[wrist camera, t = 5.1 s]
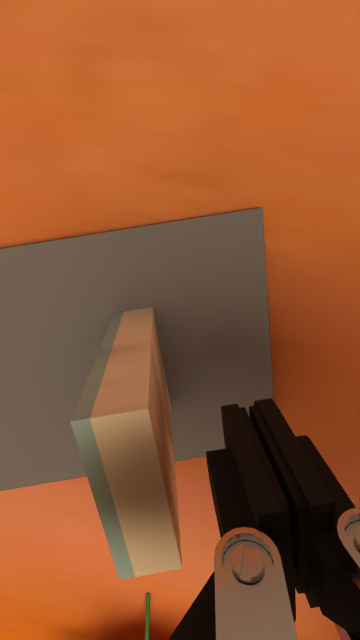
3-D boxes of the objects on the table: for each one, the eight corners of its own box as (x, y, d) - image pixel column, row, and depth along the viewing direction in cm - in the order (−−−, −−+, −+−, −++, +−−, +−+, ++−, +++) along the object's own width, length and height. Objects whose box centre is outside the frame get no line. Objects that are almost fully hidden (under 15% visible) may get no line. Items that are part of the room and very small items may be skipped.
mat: (272, 435, 21) (276, 444, 20) (-70, 493, 21) (-79, 504, 20) (257, 207, 16) (262, 207, 16) (-184, 277, 16) (-201, 281, 15)
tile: (170, 405, 19) (182, 568, 10) (136, 411, 19) (119, 579, 10) (152, 307, 17) (147, 408, 8) (114, 313, 17) (70, 421, 8)
